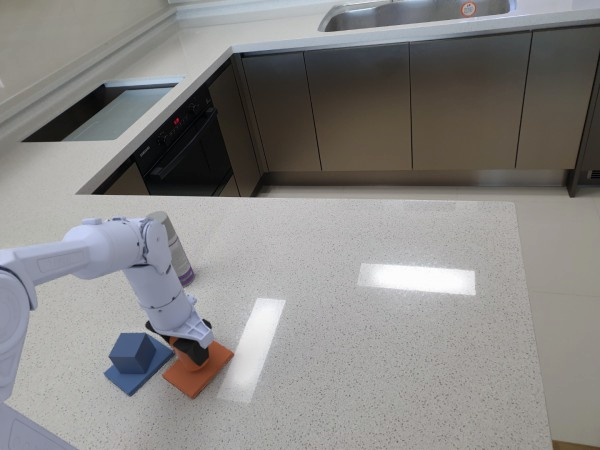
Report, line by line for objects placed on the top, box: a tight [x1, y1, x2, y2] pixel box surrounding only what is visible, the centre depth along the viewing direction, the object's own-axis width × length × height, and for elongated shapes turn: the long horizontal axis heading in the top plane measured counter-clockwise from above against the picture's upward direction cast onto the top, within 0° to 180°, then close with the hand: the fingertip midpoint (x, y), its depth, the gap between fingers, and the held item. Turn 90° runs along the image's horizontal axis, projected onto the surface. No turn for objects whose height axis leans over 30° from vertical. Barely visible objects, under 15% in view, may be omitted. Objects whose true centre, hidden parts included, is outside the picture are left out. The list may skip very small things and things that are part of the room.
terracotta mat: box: [161, 339, 235, 400], centre depth 72 cm, size 9×7×1 cm
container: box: [145, 210, 196, 288], centre depth 84 cm, size 5×5×15 cm
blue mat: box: [103, 333, 176, 397], centre depth 74 cm, size 9×7×1 cm
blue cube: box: [107, 332, 156, 374], centre depth 72 cm, size 4×4×4 cm
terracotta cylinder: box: [169, 336, 209, 371], centre depth 69 cm, size 4×4×6 cm
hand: (192, 353), depth 70 cm, fingers closed on terracotta cylinder, 4 cm apart
